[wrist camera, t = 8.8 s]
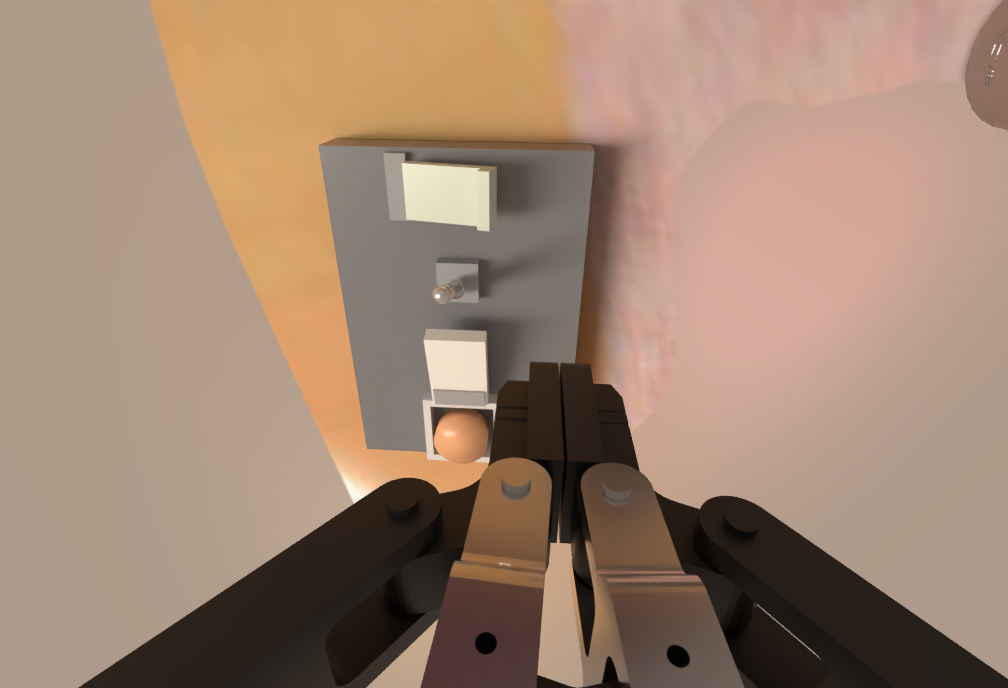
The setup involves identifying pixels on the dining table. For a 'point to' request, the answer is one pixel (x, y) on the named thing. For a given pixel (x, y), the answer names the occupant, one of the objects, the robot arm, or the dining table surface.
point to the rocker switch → (457, 366)
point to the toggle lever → (449, 291)
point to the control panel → (454, 272)
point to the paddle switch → (451, 193)
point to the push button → (461, 435)
